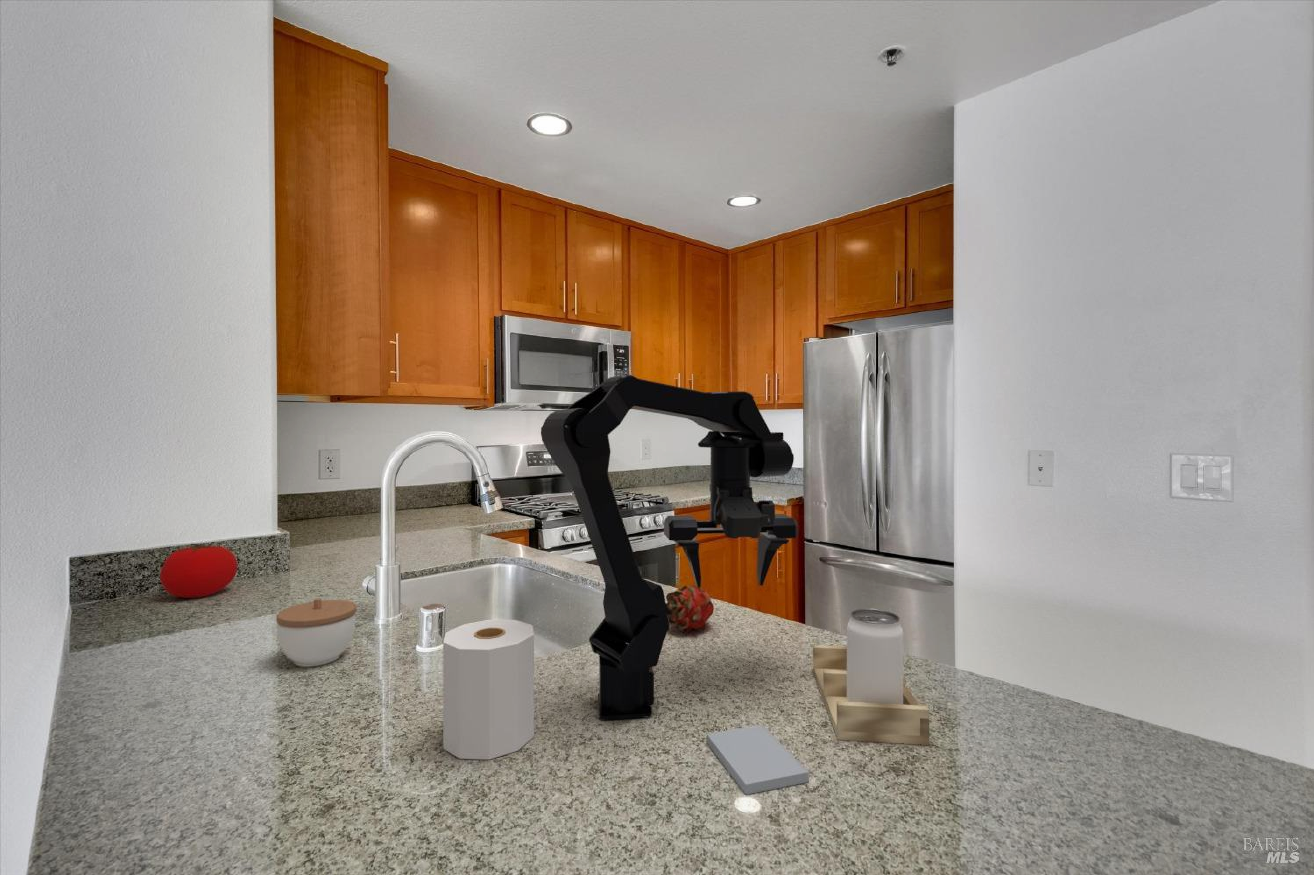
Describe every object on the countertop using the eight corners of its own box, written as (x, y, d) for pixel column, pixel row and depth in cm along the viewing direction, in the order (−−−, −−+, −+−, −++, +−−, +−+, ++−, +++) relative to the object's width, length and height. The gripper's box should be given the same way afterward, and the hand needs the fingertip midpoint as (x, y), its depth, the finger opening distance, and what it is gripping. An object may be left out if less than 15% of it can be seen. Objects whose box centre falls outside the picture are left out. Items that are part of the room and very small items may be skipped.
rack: (838, 739, 67) (838, 705, 67) (812, 672, 86) (812, 645, 86) (929, 745, 66) (929, 709, 66) (883, 675, 85) (883, 648, 85)
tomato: (145, 602, 120) (145, 549, 120) (204, 585, 133) (204, 537, 133) (194, 605, 118) (194, 551, 118) (249, 588, 131) (249, 539, 131)
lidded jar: (259, 666, 88) (259, 604, 87) (324, 642, 97) (324, 586, 97) (310, 678, 84) (309, 612, 83) (372, 652, 93) (371, 593, 93)
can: (914, 724, 69) (915, 622, 68) (863, 728, 67) (863, 625, 67) (884, 699, 75) (885, 606, 75) (837, 703, 74) (837, 608, 74)
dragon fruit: (670, 648, 99) (695, 636, 110) (710, 624, 97) (731, 614, 108) (646, 603, 102) (673, 596, 113) (684, 578, 100) (708, 573, 111)
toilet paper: (535, 711, 74) (535, 616, 74) (532, 756, 63) (532, 645, 63) (451, 718, 72) (451, 620, 72) (434, 765, 62) (434, 651, 62)
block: (745, 794, 57) (745, 784, 57) (706, 742, 66) (706, 733, 66) (808, 781, 59) (808, 772, 59) (761, 733, 68) (761, 724, 68)
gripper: (675, 484, 75) (675, 604, 75) (813, 483, 78) (813, 599, 78) (663, 477, 86) (663, 582, 86) (784, 476, 89) (784, 578, 89)
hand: (729, 586), depth 85 cm, fingers open, 9 cm apart
